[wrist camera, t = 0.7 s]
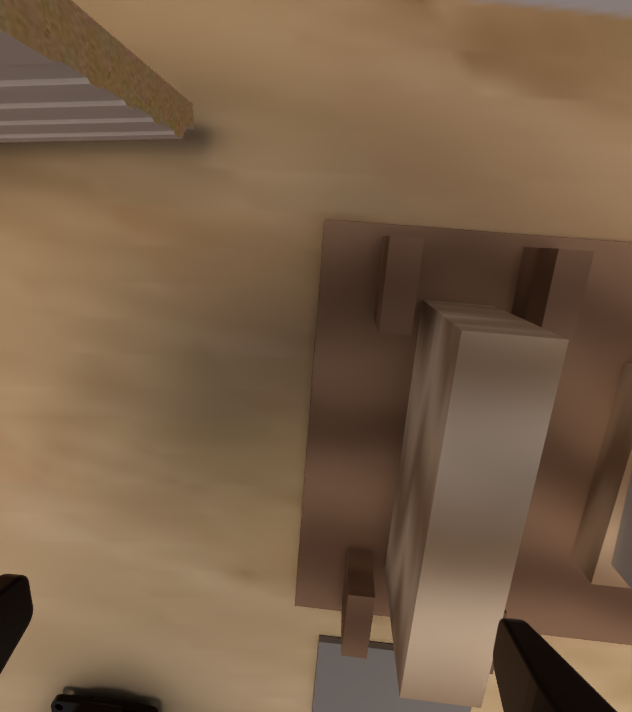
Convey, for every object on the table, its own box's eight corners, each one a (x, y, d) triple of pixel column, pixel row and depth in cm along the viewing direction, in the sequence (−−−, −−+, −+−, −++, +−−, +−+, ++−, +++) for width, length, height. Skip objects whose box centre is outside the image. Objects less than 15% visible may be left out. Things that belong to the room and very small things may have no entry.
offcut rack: (668, 640, 23) (725, 711, 19) (296, 596, 24) (287, 657, 20) (811, 256, 18) (925, 261, 14) (325, 219, 19) (320, 215, 15)
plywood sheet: (443, 575, 22) (481, 708, 16) (384, 568, 22) (399, 697, 16) (493, 305, 18) (568, 340, 12) (422, 299, 19) (461, 330, 12)
